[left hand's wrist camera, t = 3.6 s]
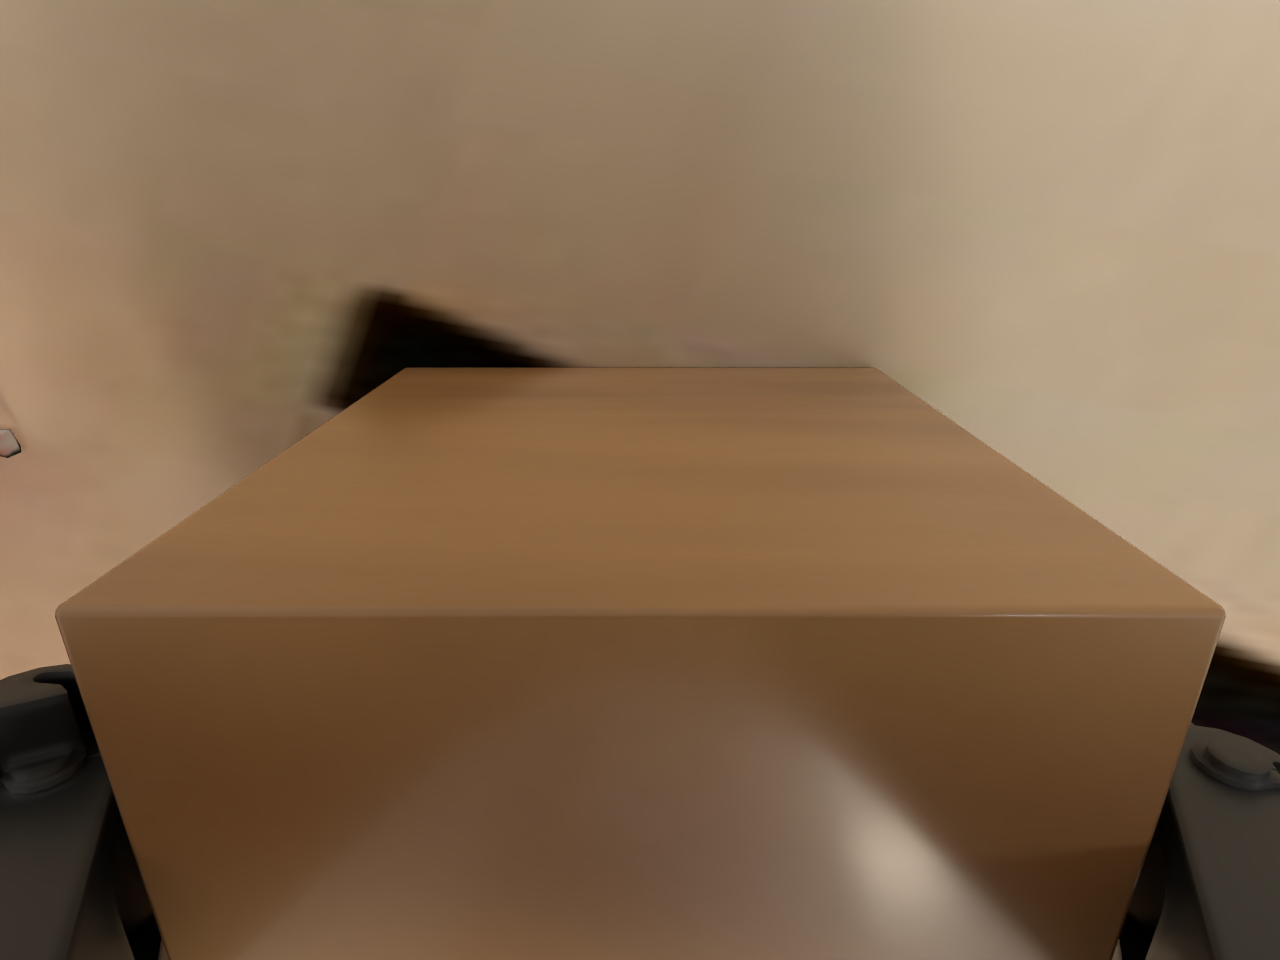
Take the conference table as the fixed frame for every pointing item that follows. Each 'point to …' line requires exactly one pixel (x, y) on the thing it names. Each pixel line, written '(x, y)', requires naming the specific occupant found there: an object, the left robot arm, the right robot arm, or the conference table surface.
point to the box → (640, 683)
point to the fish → (8, 443)
